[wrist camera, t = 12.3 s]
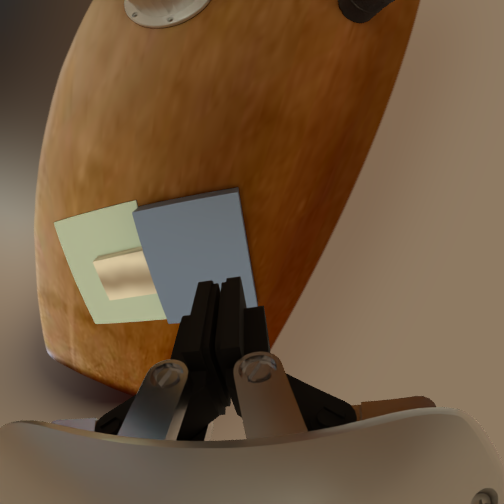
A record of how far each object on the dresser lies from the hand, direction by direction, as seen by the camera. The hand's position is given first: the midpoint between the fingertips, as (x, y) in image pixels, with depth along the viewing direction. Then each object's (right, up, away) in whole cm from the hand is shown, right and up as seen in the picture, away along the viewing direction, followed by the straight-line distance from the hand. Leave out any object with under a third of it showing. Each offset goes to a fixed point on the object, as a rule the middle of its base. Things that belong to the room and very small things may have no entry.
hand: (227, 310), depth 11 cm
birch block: (-18, -1, +29) cm, 34 cm away
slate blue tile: (-6, +2, +29) cm, 30 cm away
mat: (-21, -1, +29) cm, 36 cm away
